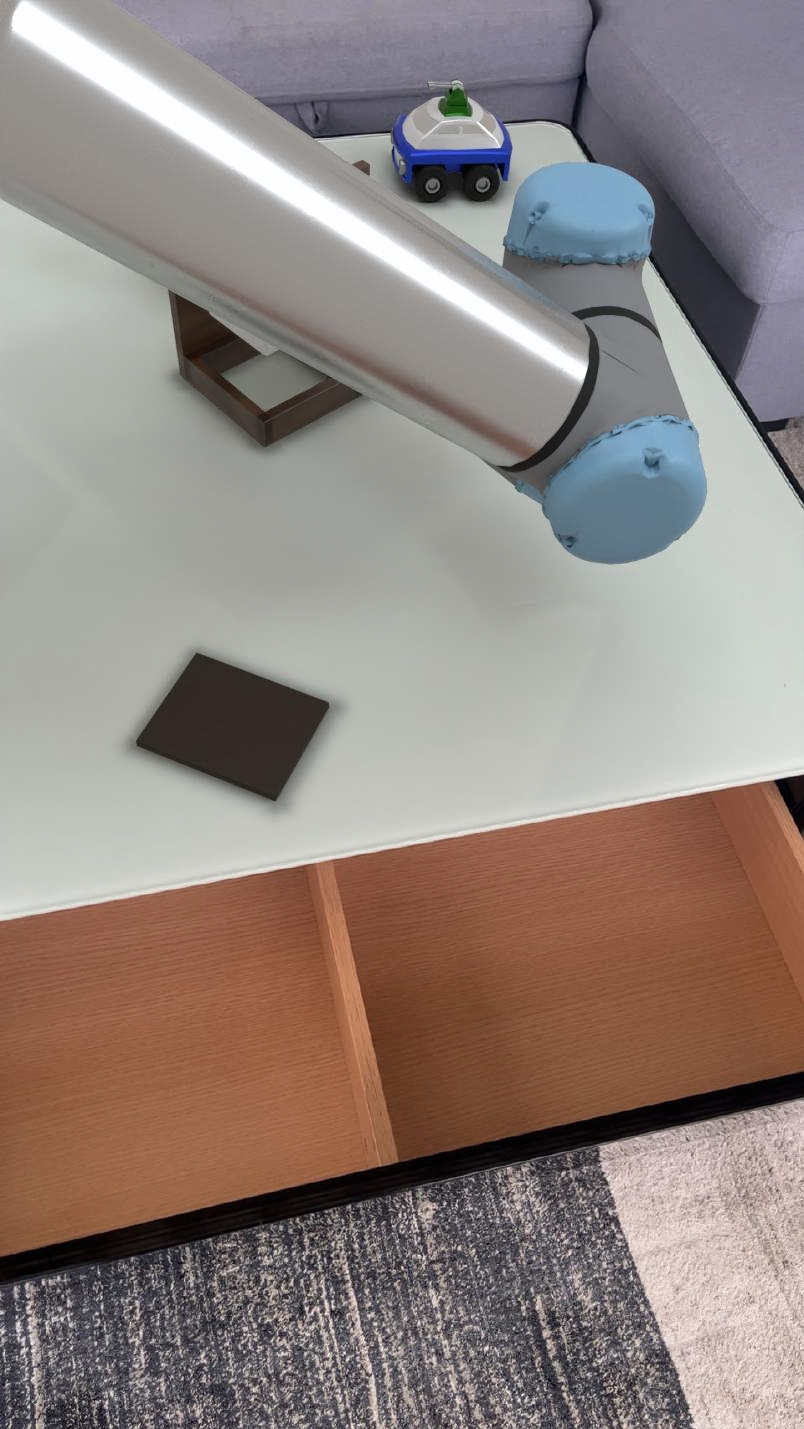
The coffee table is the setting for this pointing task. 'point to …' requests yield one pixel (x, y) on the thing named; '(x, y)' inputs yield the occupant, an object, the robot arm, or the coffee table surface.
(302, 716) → the mat
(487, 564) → the coffee table surface
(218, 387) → the rack
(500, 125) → the toy car
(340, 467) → the coffee table surface
